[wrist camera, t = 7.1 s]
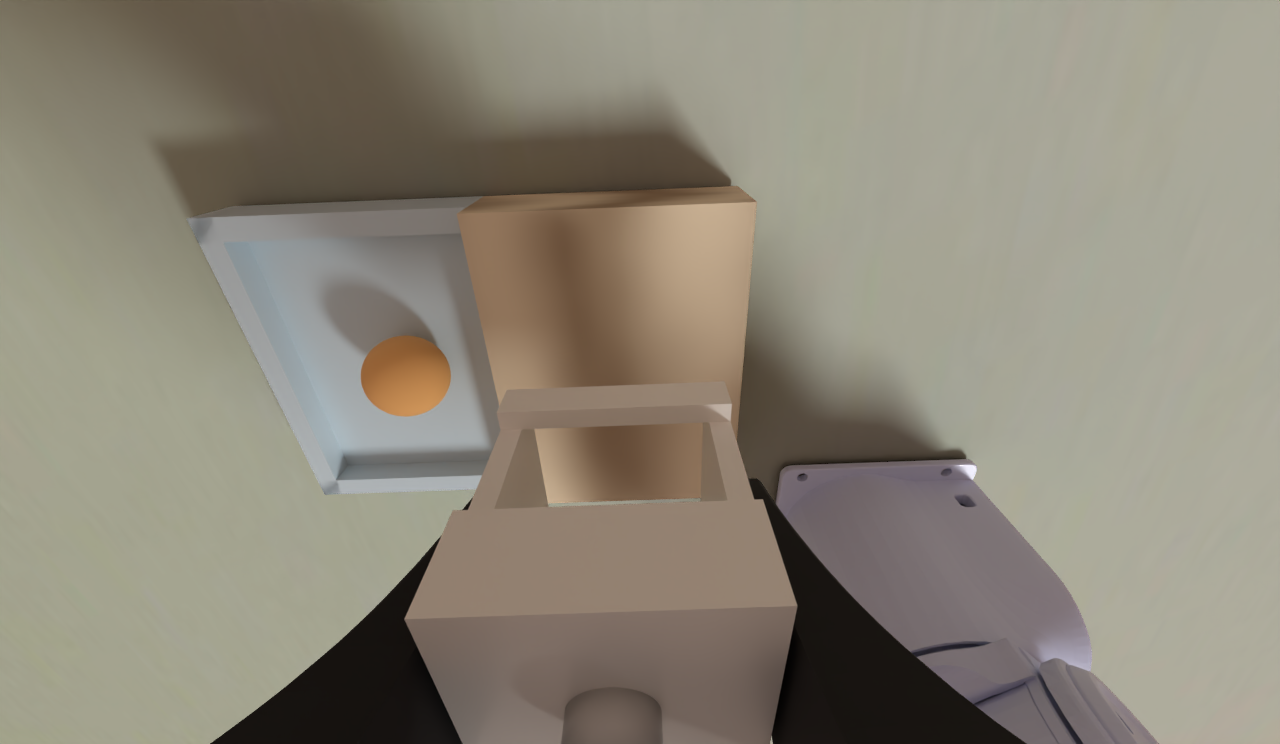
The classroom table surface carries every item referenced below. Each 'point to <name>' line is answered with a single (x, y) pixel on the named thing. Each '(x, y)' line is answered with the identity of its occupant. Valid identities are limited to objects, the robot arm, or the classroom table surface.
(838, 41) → the classroom table surface
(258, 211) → the tray
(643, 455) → the board
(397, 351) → the ball
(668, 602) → the small drawer with knob
